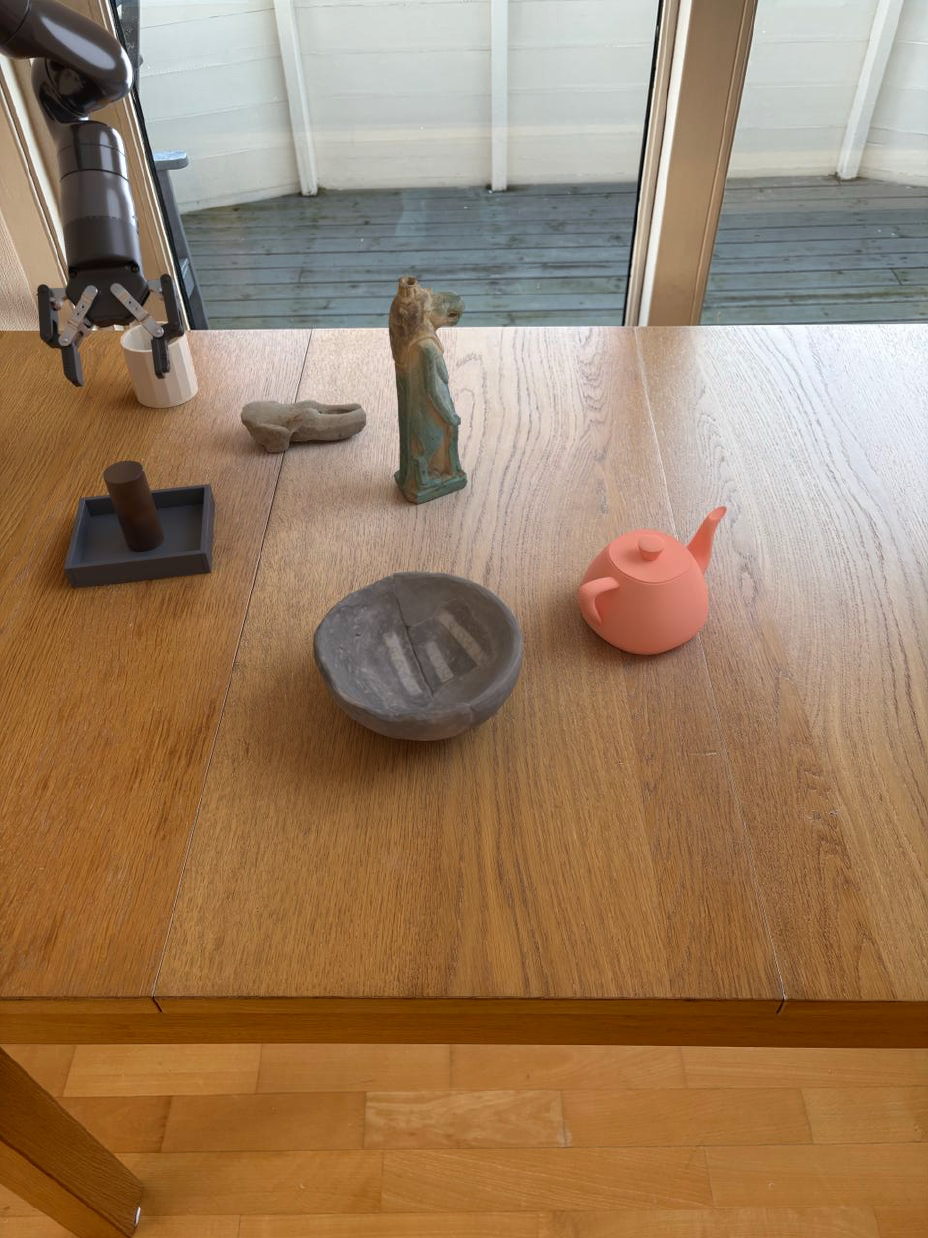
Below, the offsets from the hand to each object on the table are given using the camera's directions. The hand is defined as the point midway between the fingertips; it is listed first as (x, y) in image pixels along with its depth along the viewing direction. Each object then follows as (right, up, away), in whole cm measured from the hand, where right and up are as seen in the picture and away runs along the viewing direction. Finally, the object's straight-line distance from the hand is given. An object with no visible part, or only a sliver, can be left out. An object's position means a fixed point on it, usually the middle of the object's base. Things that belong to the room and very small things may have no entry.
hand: (119, 380), depth 100 cm
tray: (+2, -17, +3) cm, 17 cm away
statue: (+33, -10, +10) cm, 35 cm away
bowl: (+33, -32, -13) cm, 48 cm away
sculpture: (+17, -2, +18) cm, 25 cm away
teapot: (+54, -25, -6) cm, 60 cm away
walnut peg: (+2, -17, +3) cm, 17 cm away
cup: (-3, +5, +26) cm, 27 cm away
